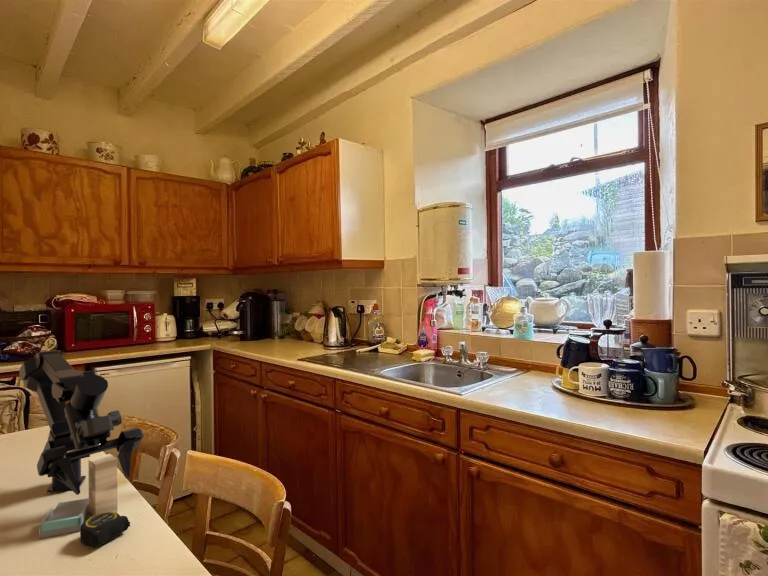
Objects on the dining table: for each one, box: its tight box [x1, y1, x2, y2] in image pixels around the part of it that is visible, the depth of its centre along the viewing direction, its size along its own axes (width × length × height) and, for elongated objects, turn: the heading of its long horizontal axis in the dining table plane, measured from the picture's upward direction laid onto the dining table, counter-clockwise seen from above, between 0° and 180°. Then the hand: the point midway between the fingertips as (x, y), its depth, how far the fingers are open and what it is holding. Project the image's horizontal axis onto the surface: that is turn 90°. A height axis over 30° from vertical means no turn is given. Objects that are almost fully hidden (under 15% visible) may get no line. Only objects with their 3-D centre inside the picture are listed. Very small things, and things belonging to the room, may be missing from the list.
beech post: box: [87, 453, 118, 518], centre depth 92 cm, size 4×4×12 cm
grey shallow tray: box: [38, 497, 90, 539], centre depth 90 cm, size 12×7×3 cm, turn 22°
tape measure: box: [79, 512, 131, 547], centre depth 84 cm, size 7×7×4 cm
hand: (104, 485), depth 91 cm, fingers open, 9 cm apart
